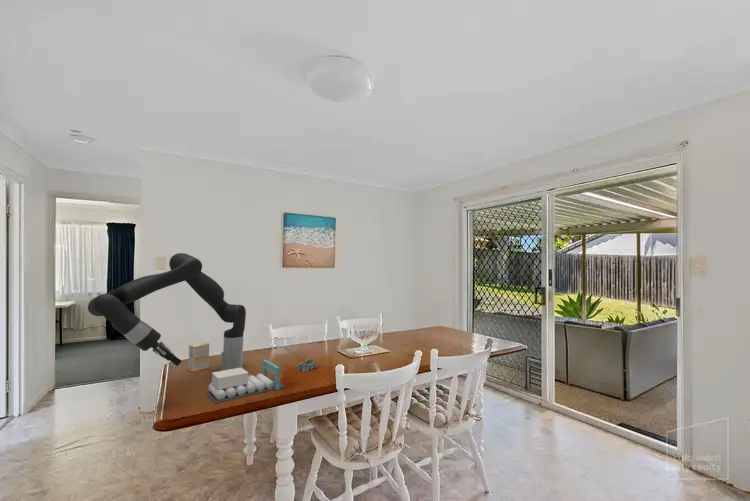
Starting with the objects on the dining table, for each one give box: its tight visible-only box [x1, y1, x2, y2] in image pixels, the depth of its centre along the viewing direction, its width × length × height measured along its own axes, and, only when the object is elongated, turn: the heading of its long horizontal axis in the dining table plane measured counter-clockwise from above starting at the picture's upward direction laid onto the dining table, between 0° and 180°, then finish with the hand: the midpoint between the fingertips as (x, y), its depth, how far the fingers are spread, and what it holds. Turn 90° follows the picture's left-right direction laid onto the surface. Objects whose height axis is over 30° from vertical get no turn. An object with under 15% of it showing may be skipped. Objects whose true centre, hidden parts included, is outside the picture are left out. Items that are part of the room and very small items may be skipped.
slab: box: [211, 367, 249, 390], centre depth 144 cm, size 12×9×4 cm
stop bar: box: [262, 359, 281, 391], centre depth 155 cm, size 2×16×9 cm, turn 39°
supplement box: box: [187, 342, 210, 373], centre depth 175 cm, size 8×5×13 cm, turn 146°
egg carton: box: [296, 357, 319, 372], centre depth 181 cm, size 11×8×4 cm
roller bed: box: [205, 373, 286, 404], centre depth 148 cm, size 29×14×4 cm, turn 129°
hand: (179, 363), depth 132 cm, fingers closed
